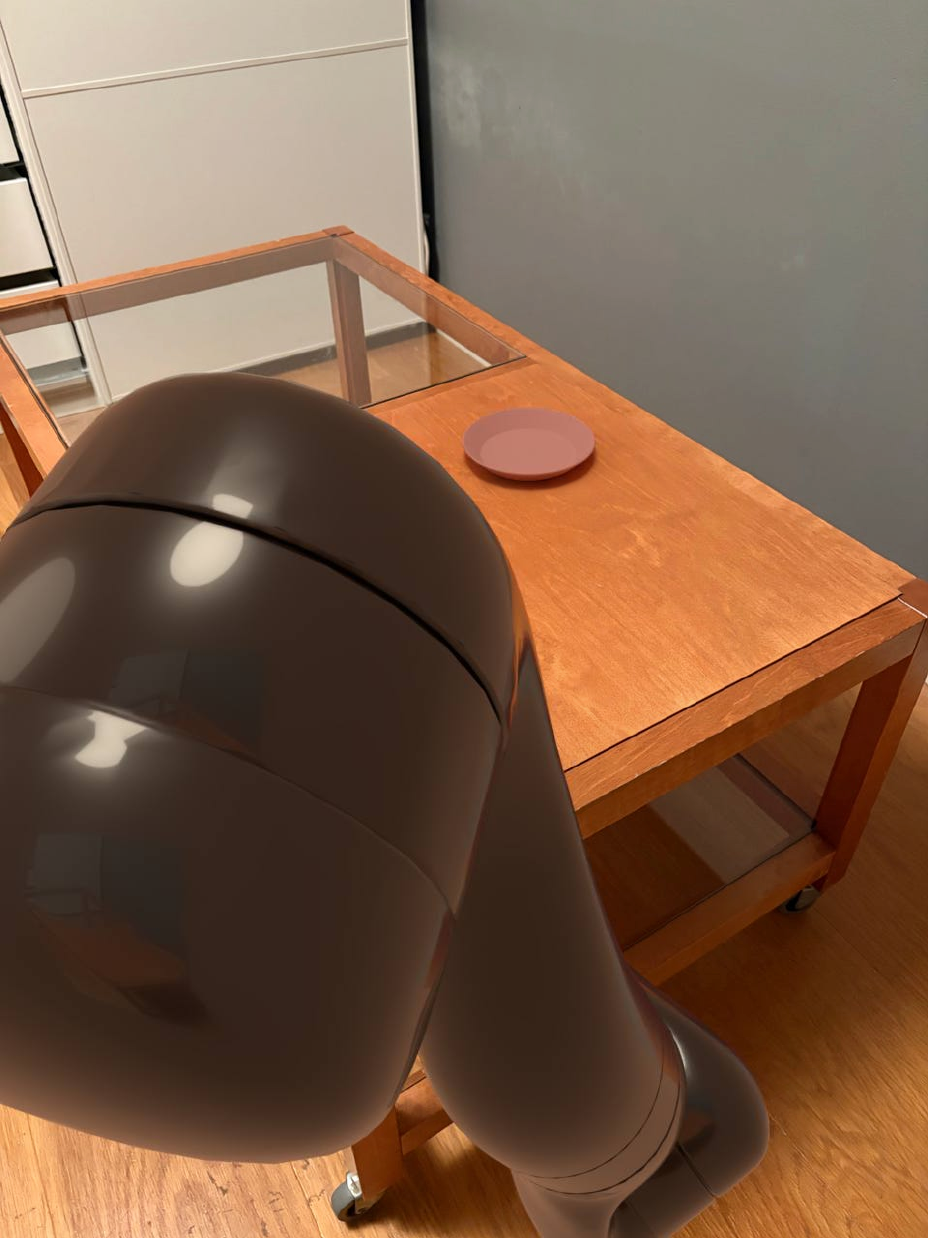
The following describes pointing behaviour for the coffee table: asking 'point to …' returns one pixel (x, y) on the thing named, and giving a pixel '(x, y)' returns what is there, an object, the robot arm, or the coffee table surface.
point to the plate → (528, 443)
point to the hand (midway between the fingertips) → (329, 654)
